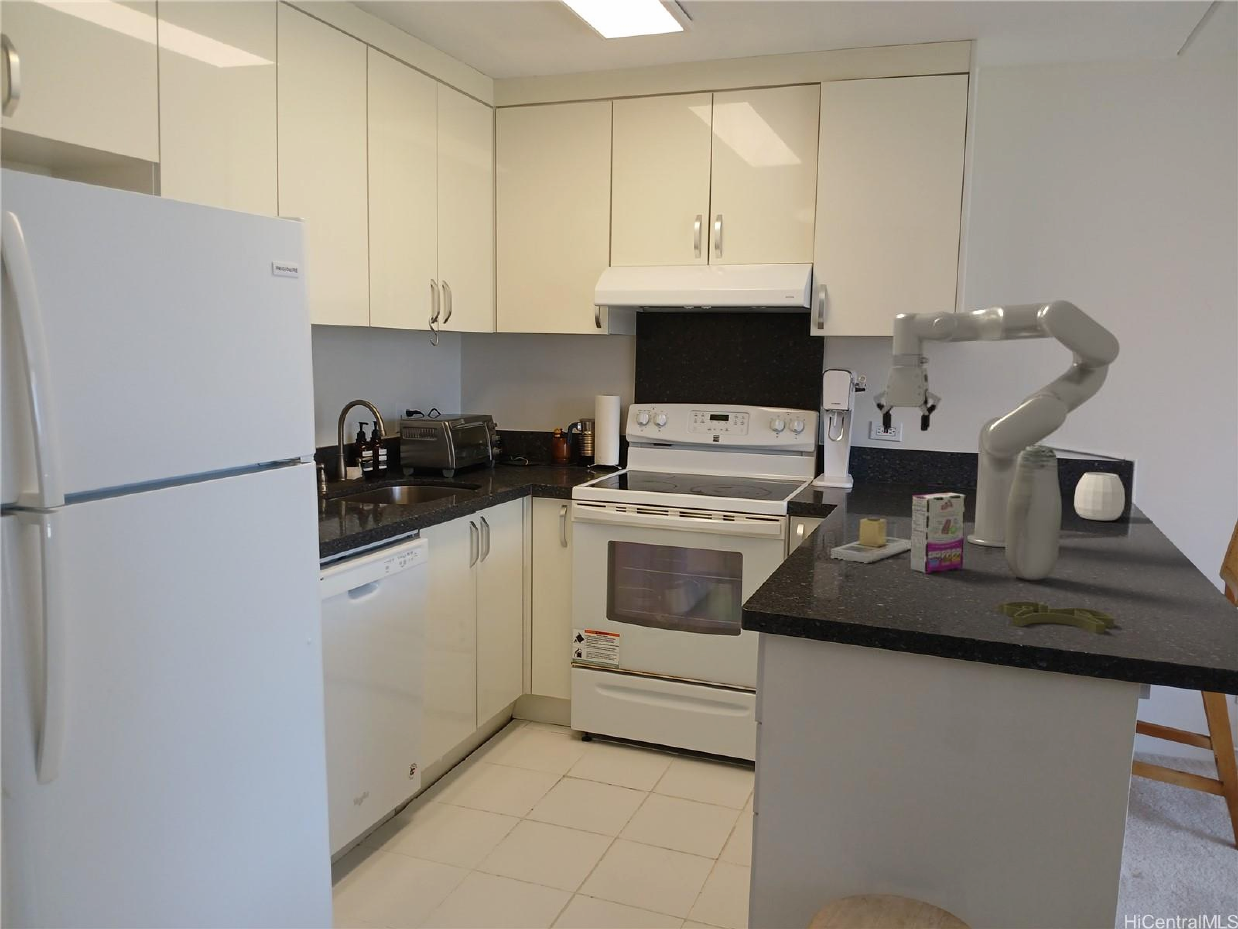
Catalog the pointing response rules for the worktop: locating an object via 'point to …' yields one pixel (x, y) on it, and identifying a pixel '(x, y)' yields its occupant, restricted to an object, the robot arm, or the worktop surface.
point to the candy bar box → (937, 532)
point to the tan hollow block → (873, 532)
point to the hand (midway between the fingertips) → (905, 429)
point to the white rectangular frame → (870, 550)
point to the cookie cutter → (1056, 615)
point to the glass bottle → (1034, 515)
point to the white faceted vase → (1099, 496)
